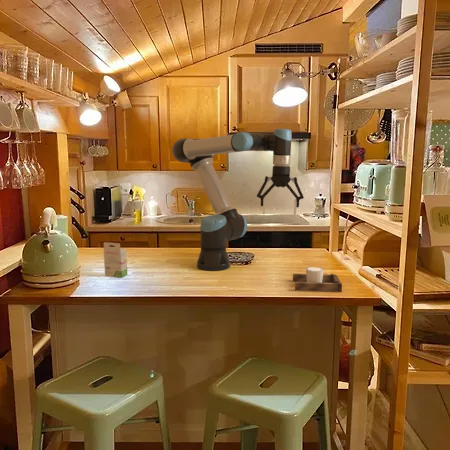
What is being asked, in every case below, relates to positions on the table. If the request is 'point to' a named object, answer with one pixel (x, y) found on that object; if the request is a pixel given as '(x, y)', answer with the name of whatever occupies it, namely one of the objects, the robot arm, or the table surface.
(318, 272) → the white cup
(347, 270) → the table surface
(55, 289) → the table surface
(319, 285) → the tray
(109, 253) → the ink box
